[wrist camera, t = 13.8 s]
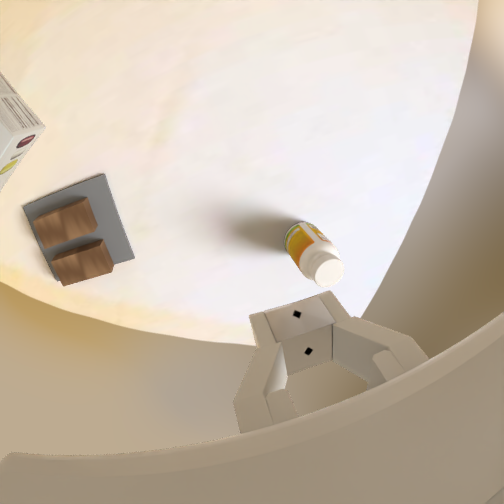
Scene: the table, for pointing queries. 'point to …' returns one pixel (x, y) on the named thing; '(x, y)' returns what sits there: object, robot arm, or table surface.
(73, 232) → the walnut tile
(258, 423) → the robot arm
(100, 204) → the slate rubber mat
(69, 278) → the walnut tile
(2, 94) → the supplement box
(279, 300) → the table surface
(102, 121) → the table surface
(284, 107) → the table surface
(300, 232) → the supplement bottle
